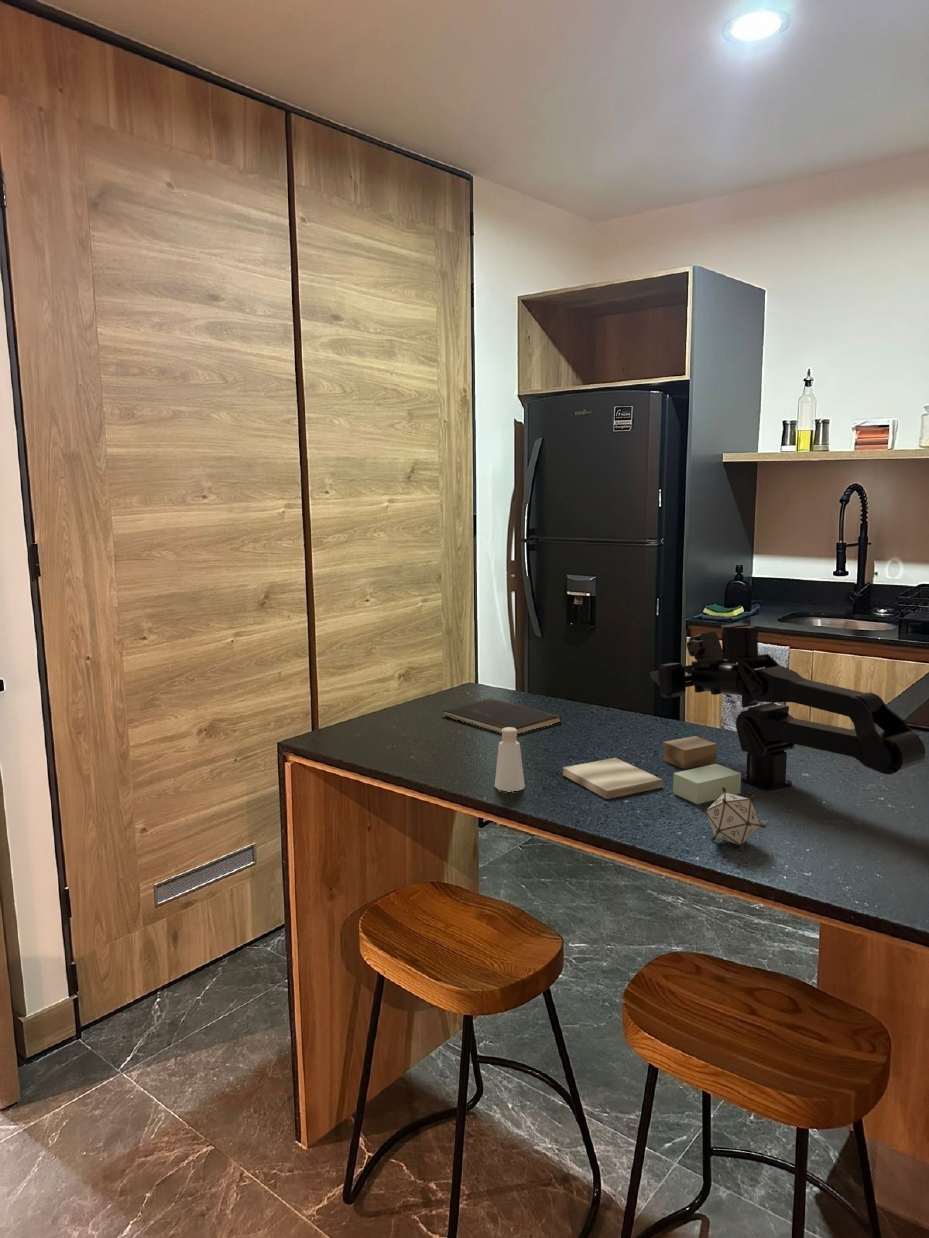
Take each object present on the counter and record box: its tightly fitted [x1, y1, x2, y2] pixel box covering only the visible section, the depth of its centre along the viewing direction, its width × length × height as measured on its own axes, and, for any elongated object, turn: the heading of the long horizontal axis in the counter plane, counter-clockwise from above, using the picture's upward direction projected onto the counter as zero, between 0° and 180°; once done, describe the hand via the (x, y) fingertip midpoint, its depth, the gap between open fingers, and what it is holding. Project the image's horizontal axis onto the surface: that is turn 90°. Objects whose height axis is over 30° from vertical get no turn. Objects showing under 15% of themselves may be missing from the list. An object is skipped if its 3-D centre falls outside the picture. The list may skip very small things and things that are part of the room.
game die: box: [698, 787, 767, 851], centre depth 132 cm, size 9×8×10 cm
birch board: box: [562, 757, 663, 800], centre depth 160 cm, size 14×12×2 cm
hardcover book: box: [441, 698, 562, 734], centre depth 201 cm, size 16×23×2 cm
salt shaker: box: [494, 727, 525, 793], centre depth 157 cm, size 5×5×11 cm
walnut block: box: [662, 735, 718, 770], centre depth 170 cm, size 6×8×4 cm
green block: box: [672, 763, 742, 805], centre depth 153 cm, size 6×10×4 cm, turn 118°
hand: (667, 671), depth 177 cm, fingers open, 9 cm apart
